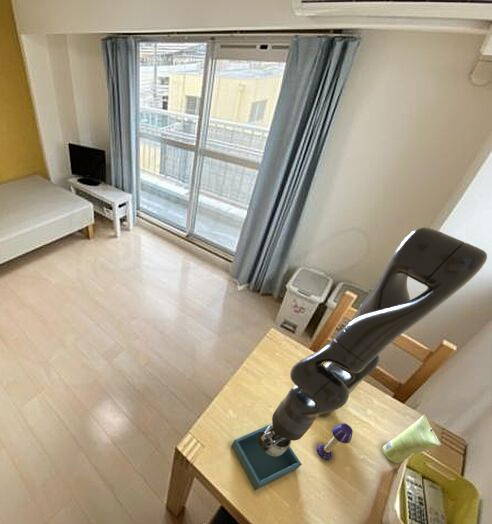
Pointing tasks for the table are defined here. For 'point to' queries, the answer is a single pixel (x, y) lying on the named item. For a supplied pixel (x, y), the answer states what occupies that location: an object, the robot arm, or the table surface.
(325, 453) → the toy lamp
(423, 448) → the tube
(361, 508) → the table surface
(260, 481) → the crate
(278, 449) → the camera lens
